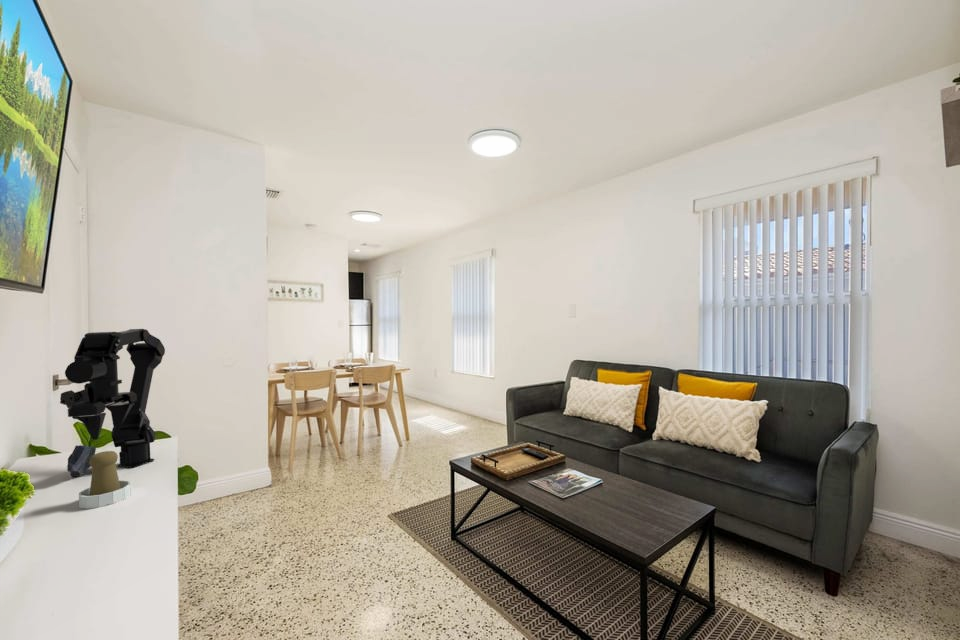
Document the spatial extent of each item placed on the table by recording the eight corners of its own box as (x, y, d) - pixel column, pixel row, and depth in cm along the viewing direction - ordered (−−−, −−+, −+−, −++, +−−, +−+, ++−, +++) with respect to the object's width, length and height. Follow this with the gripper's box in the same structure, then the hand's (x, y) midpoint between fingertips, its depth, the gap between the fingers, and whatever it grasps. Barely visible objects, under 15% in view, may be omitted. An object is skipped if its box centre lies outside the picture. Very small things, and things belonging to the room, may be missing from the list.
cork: (84, 504, 98) (82, 458, 98) (93, 495, 103) (91, 451, 103) (117, 498, 101) (115, 453, 100) (124, 489, 106) (122, 446, 106)
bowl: (114, 489, 108) (114, 478, 108) (140, 493, 105) (139, 482, 105) (69, 506, 99) (69, 494, 99) (96, 510, 96) (95, 498, 96)
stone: (68, 472, 121) (66, 438, 121) (96, 466, 126) (95, 433, 125) (67, 485, 111) (65, 448, 111) (98, 478, 116) (96, 443, 116)
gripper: (92, 375, 120) (94, 428, 120) (40, 385, 102) (43, 448, 102) (136, 372, 122) (139, 424, 123) (94, 382, 104) (96, 443, 104)
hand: (106, 434), depth 113 cm, fingers open, 9 cm apart
